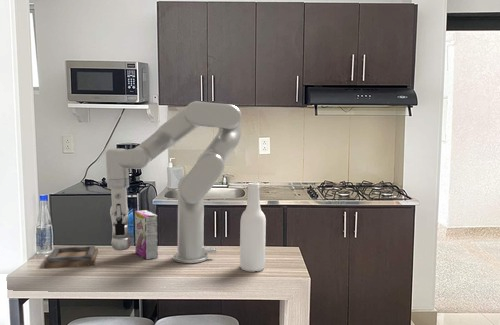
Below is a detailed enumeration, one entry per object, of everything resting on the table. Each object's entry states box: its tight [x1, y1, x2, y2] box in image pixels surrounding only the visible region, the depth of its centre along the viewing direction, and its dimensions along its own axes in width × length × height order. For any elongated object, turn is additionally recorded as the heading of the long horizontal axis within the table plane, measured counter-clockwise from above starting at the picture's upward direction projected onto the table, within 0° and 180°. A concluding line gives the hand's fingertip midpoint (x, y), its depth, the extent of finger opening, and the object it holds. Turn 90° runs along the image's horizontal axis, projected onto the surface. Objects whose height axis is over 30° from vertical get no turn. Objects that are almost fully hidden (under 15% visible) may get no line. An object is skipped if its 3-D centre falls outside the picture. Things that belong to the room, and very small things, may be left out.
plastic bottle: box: [109, 195, 131, 252], centre depth 165 cm, size 6×7×20 cm
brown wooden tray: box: [44, 245, 99, 269], centre depth 167 cm, size 16×16×3 cm
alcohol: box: [239, 182, 267, 273], centre depth 159 cm, size 9×9×30 cm
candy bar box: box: [134, 209, 159, 261], centre depth 173 cm, size 11×5×16 cm, turn 34°
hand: (120, 232), depth 166 cm, fingers closed on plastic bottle, 5 cm apart
